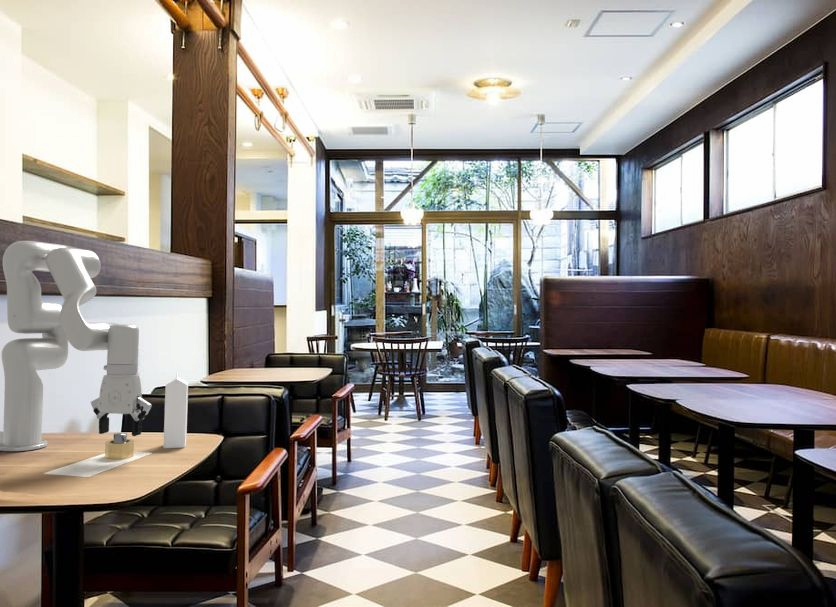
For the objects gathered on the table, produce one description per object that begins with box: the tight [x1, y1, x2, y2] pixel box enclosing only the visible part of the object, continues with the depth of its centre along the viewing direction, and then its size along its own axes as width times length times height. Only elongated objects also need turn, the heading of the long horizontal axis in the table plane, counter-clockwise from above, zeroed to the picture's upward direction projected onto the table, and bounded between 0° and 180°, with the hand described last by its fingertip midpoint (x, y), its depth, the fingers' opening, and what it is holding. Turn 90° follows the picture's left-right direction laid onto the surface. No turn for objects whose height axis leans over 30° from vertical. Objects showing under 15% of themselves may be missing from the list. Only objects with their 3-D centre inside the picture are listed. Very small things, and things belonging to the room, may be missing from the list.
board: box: [42, 451, 153, 478], centre depth 160 cm, size 12×26×2 cm, turn 170°
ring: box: [104, 438, 135, 459], centre depth 167 cm, size 7×7×4 cm
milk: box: [163, 372, 189, 449], centre depth 188 cm, size 6×6×22 cm
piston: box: [113, 432, 128, 443], centre depth 167 cm, size 3×3×6 cm
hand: (120, 434), depth 167 cm, fingers open, 9 cm apart
